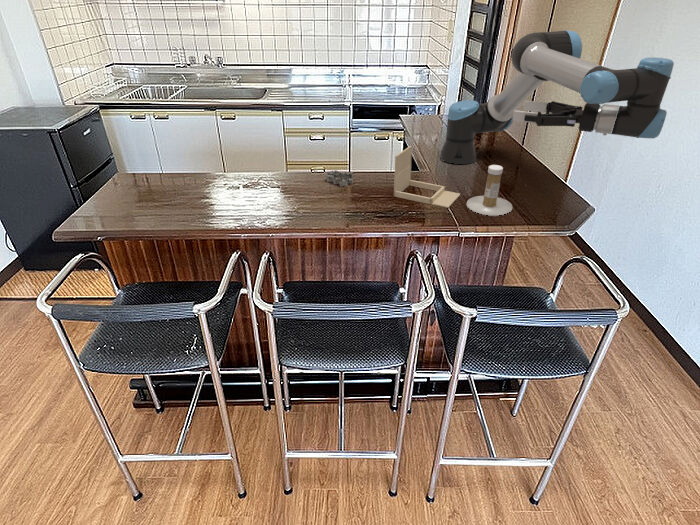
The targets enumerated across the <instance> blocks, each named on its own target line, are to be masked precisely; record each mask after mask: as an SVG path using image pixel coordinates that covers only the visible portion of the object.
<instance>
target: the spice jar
mask: <svg viewBox="0 0 700 525" xmlns="http://www.w3.org/2000/svg"><path fill="white" fill-rule="evenodd" d="M487 168H488V169H487V178H486V184H485V188H484V189H485V190H484V194H483V196H484V201H483V205H485V206H487V207H494V206H496V201H497V197H499V196H498V195H499V193H500V192H499V190H500V185H501V178H502V175H503V171H504V167H503V166H502V165H498V164H491V165H488V167H487Z"/></svg>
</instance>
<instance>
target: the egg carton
mask: <svg viewBox="0 0 700 525" xmlns="http://www.w3.org/2000/svg"><path fill="white" fill-rule="evenodd" d="M324 174H325V175H326V182H327V183H332V184H333V185H339V186H340V187H347V186H349V185H348V184H354V176H355V174H356V173H355V172H353V171H349V172H347V171H346V172H345V171H338V170H336V169H335V170H331V171H327V172H324Z"/></svg>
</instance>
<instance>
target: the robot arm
mask: <svg viewBox="0 0 700 525" xmlns="http://www.w3.org/2000/svg"><path fill="white" fill-rule="evenodd" d="M582 51H583V44H582V39H581V37H580V35H579V34H578V32H576V31H574V30H566V29H564V30H555V31H542V32H541V31H540V32H539V31H538V32H531V33H528V34H526V35H524V36H522V37H521V38H519V40H518V41H517V42H515V44H514V46H513V48H512V50H511V55H510V56H511V57H510V58H511V59H510V61H511V64H512V66H513V67H514V69H515V70H516V71H517V72H518V73H517V74H516V75H515V76H514V77H513V79H512V80H511V81H510V82H509V83H508V84H507V85H506V86H505V87H504V89H503V90H501V91H500V93H499V94H495V95H493V96H491V97H490V98H489V99H488V100H487V102H485V103H479V102H478V101H477V100H473V99H472V100H471V99H469V100H460V101H457V102H456V101H455V102H453V103H451V105H450V106H449V109H448V113H447V125H446V134H445V135H446V136H445V141H444V144H443V146H442V150H440V155H439V159H440V158H441V159H442V160H444V161H446V162H449V163H448V164H450V163H454V164H453V165H457V164H463V165H469V164H472V163H474V162H476V158H477V152H476V148H475V135H476V134H482V133H492V132H497V133H498V132H501V131H505V130H507V129H509V128H510V127H511V126H512V124H513V122H520V123H529V124H530V123H531V124H536V126H537V127H571V128H573V127H574V128H575V126H576V124H579V125H578V130H579V131H580V132H588V133H592V132H593V131H594V132H595V133H597V134H598V133H599V134H602V135H603V136H607V134H608V135H615V136H621V137H622V136H624V137H631V138H637V139H638V138H639V139H656V138H658V137H659V135H660V134H661V131H662V129H663V127H664V123H665V121H666V119H667V110H665V109H662V108H661V105H662V104H661V103H662V102H663V99H664V96H665V92H666V90H667V88H668V84H669V81H670V79H671V77H672V72H673V68H674V61H673V60H672V59H670V58H664V57H644V58H642V59H641V60H640V61H639V63H638V65H637V67H636V68H625V69H612V68H609V67H605V66H603V65H600V64H597V63H595V62H591V61H588V60H585V59H582V58H581V56H582ZM544 82H552V83H553V84H557V85H558V86H561V87H564V88H567V89H569V90H572V91H574V92H576V93H578V94H580V97H581V98H582V100H583V102H585V105H584V108H583V106H582V105H581V106H580V105H579V106H578V105H572V104H567V103H562V102H558V101H554V100H553V101H551V102H543V101H533V100H526V99H528V97H529V96H531V94H532V93H533V92H534V91H536V90H537V89H538V88H539V87H540V85H542V84H543V83H544ZM625 101H627V102H626V105H618V104H610V103H617V102H625ZM522 103H524V104H523V108H522V110H523V111H522V110H516V109H517V108H518V107H519V106H520V105H521V104H522ZM601 105H602V106H601ZM441 159H440V160H441ZM442 160H441V161H442ZM444 161H443V162H444ZM446 162H445V163H446Z"/></svg>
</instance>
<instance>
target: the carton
mask: <svg viewBox="0 0 700 525" xmlns="http://www.w3.org/2000/svg"><path fill="white" fill-rule="evenodd" d="M412 152H413V146H412V145H409V146H407V147H406V148H405V149H403V150H401V151H400V152H399V153H398V154H396V155H395V156H394V175H393V177H394V178H393V180H394V181H393V197H396V198H399V199H400V198H401V199H405V200H408V201H413V202H418V203H422V204H428V205H432V206H437V207H442V208H446V209H449V208H450V207H451V205H453V203H454V202H455V201H457V199H458V198H459V197H460V196H461V195H460V194H461V193H458V192H454V191H450V190H449V191H448V190H446V186H445V185H439V184H435V183H429V182H424V181H418V180H413V179H412V178H411V176H412V156H413V155H412V154H413V153H412ZM409 186H410V187H416V188H421V189H425V190H430V191H431V190H432V191H435V193H434V194H433V195H432V196H431V197H429V196H424V195H418V194H413V193H409V192H406V191H405V190H406V189H407V188H408V187H409ZM404 191H405V192H404Z"/></svg>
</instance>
